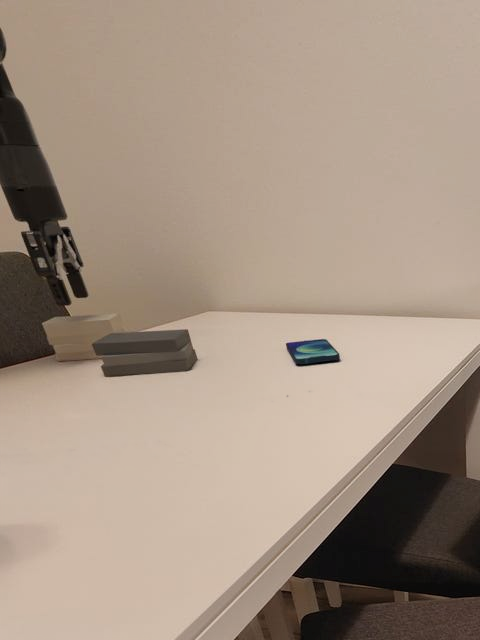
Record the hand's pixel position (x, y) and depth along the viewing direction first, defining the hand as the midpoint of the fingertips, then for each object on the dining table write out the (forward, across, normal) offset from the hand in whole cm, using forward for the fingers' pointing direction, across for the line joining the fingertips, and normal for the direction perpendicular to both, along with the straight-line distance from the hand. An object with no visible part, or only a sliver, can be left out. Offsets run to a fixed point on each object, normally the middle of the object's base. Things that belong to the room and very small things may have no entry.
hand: (73, 301), depth 102 cm
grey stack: (+9, +13, +13) cm, 20 cm away
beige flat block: (+5, 0, 0) cm, 5 cm away
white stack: (+9, 0, 0) cm, 9 cm away
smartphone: (+8, +11, +40) cm, 42 cm away
